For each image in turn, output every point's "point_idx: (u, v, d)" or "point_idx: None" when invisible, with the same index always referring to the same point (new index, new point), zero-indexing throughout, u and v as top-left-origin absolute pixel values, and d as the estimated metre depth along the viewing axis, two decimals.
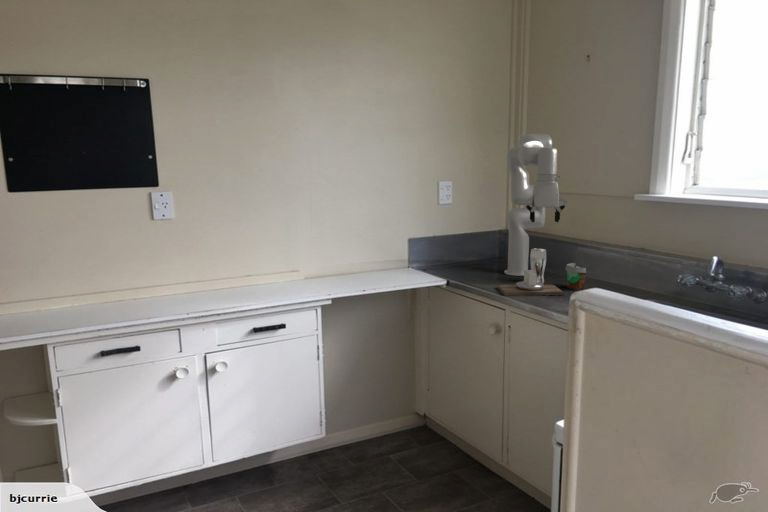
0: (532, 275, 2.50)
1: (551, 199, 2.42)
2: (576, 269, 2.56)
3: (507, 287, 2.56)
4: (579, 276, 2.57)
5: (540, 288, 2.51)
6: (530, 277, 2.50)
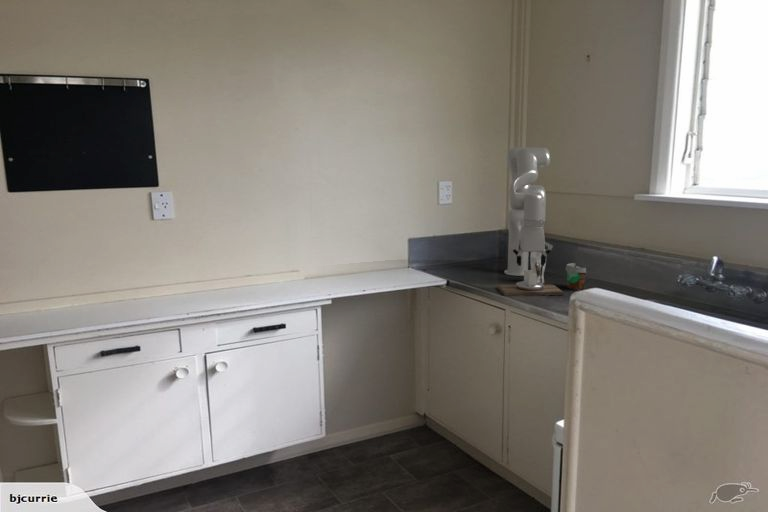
0: (532, 275, 2.50)
1: (537, 244, 2.50)
2: (576, 269, 2.56)
3: (507, 287, 2.56)
4: (579, 276, 2.57)
5: (540, 288, 2.51)
6: (530, 277, 2.50)
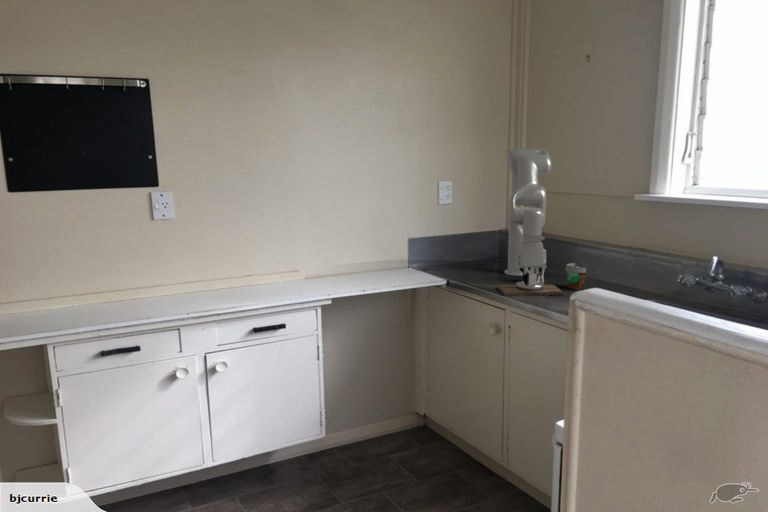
0: (532, 275, 2.50)
1: (536, 259, 2.51)
2: (576, 269, 2.56)
3: (507, 287, 2.56)
4: (579, 276, 2.57)
5: (540, 288, 2.51)
6: (530, 277, 2.50)
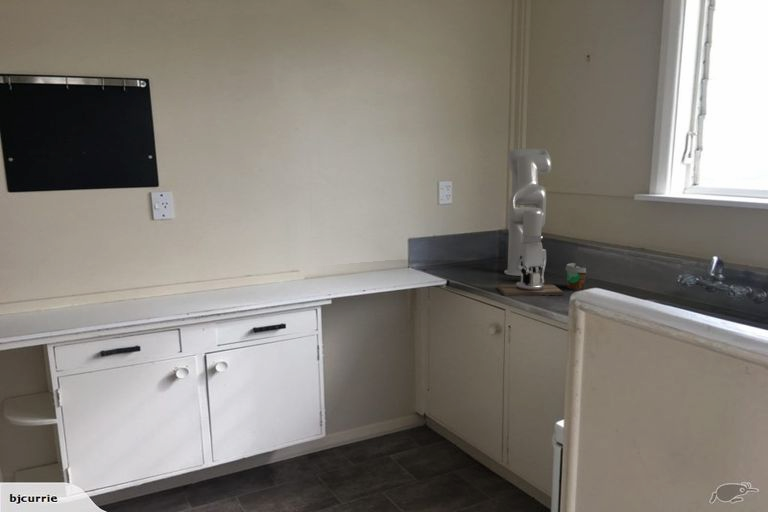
0: (535, 275, 2.50)
1: (537, 259, 2.52)
2: (576, 269, 2.56)
3: (507, 287, 2.56)
4: (579, 276, 2.57)
5: (542, 287, 2.52)
6: (534, 277, 2.50)
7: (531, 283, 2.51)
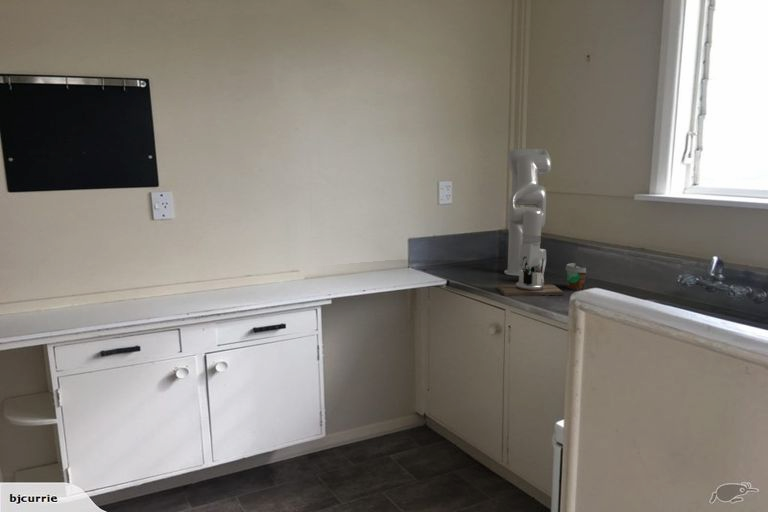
0: (539, 275, 2.51)
1: (537, 258, 2.53)
2: (576, 269, 2.56)
3: (507, 287, 2.56)
4: (579, 276, 2.57)
5: None
6: (537, 277, 2.50)
7: (534, 283, 2.51)
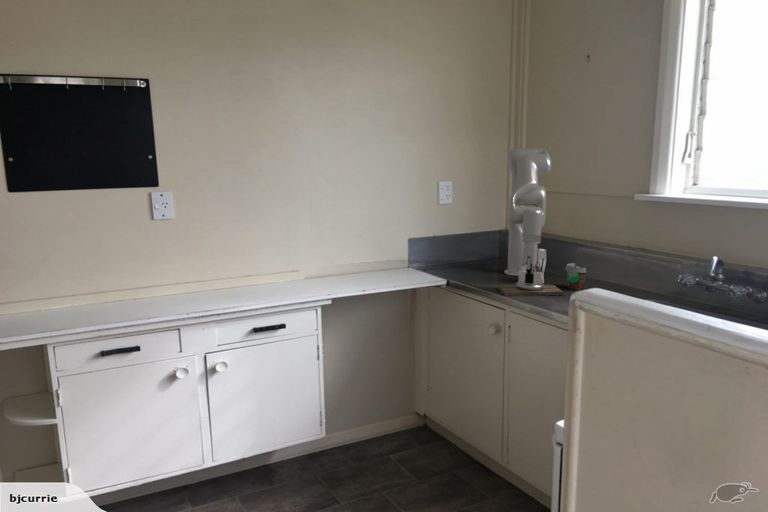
0: (541, 274, 2.52)
1: (536, 257, 2.54)
2: (576, 269, 2.56)
3: (507, 287, 2.56)
4: (579, 276, 2.57)
5: None
6: (540, 276, 2.52)
7: (537, 283, 2.52)
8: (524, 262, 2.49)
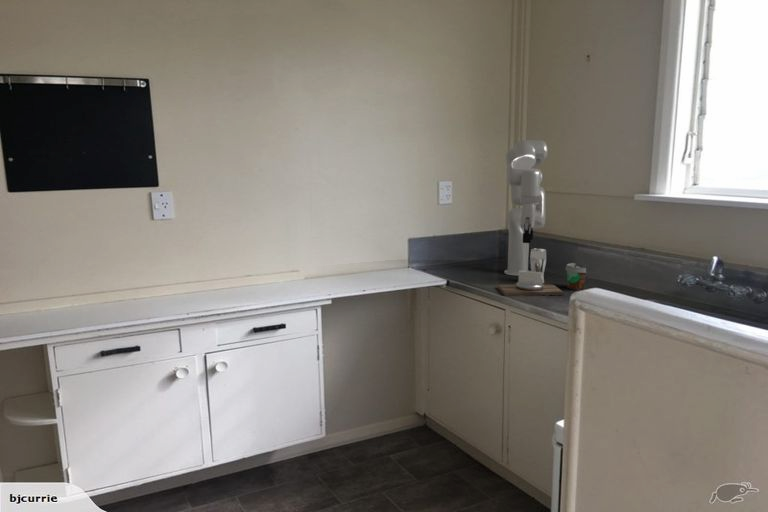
0: (541, 274, 2.52)
1: None
2: (576, 269, 2.56)
3: (507, 287, 2.56)
4: (579, 276, 2.57)
5: None
6: (540, 276, 2.52)
7: (537, 283, 2.52)
8: (522, 223, 2.49)
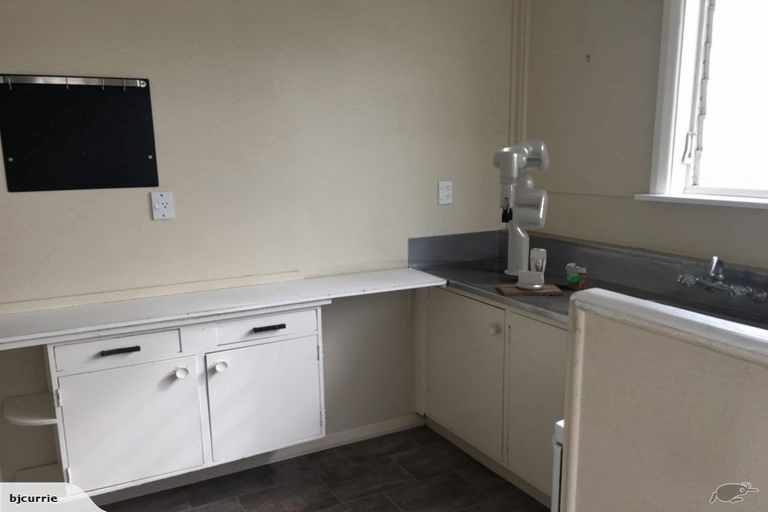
0: (541, 274, 2.52)
1: (513, 200, 2.62)
2: (576, 269, 2.56)
3: (507, 287, 2.56)
4: (579, 276, 2.57)
5: None
6: (540, 276, 2.52)
7: (537, 283, 2.52)
8: (501, 203, 2.57)
